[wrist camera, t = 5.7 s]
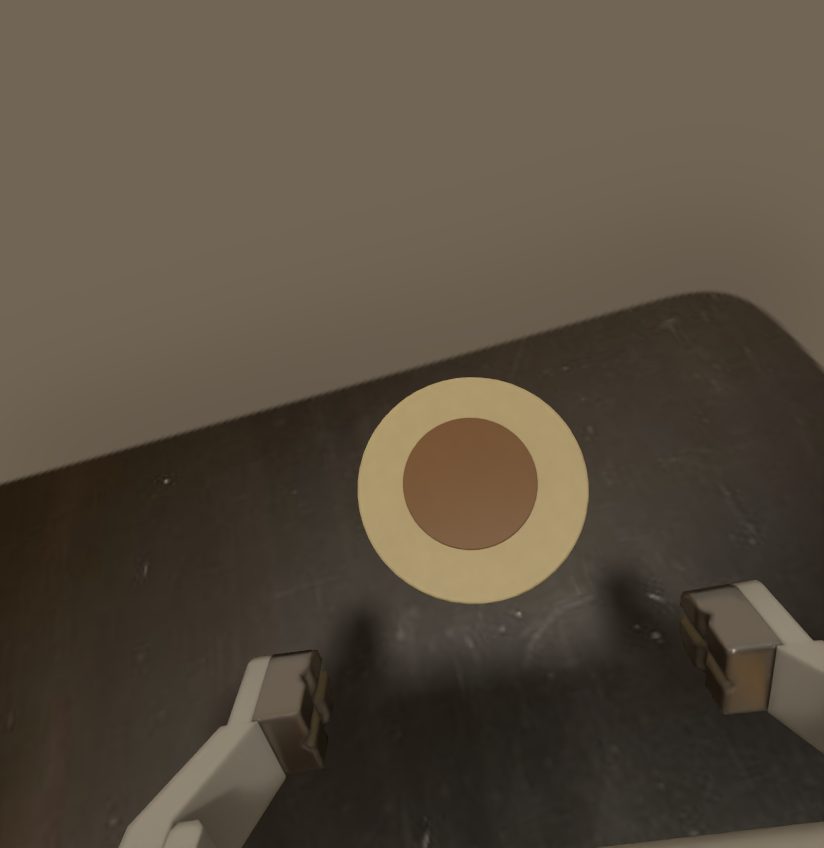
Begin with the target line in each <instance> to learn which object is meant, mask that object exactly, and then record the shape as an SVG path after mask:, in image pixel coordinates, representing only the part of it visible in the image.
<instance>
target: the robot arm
mask: <svg viewBox="0 0 824 848" xmlns="http://www.w3.org/2000/svg"><path fill="white" fill-rule="evenodd" d="M680 605H681V607H682V608H683V610H684V612H685V613H686V614H685V615H684V616H683V617H682V618H681V620H680V633H681V637H682V641H683V645H684V647H685V649H686V652H687V654H688V656H689V658H690V660H691V661H692V663H693V665H694V666H695V667H697V668H698V669H700V670H701V671H703V672H705V673H706V679H705V685H706V687H707V689H708V690H709V692H710V694H711V695H712V697H713V699H714V700H715V702H716V704H717V705H718V707H719V709H720V710H721V712H722V714H723V715H726V714H735V713H745V712H754V711H764V710H768V713H769V714H771V715H772V716H773V717H775V718H776V719H777V720H779V721H780V722H781V723H783V724H784V725H785V726H787V727H788V728H789V729H791V730H792V731H793V732H795V733H796V734H797V735H799V736H800V737H801V738H803V739H804V740H805V741H807V742H808V743H809V744H811V745H812V746H813V747H815V748H816V749H817V750H819V751H820V752H822V753H823V754H824V641H822V640H817V641H813V640H812V639H811V638H810V636H809V635H808V634H807V633H806V632H805V631H804V630H803V629H802V627H801V626H800V625H799V624H798V623H797V622H796V621H795V620H794V618H793V617H792V616H791V615H790V614H789V613H788V612H787V611H786V610H785V608H784V607H783V606H782V605H781V604H780V603H779V602H778V601H777V599H776V598H775V597H774V596H773V595H772V594H771V593H770V592H769V590H768V589H767V588H766V587H765V586H764V585H763V584H762V583H761V582H759V581H757V580H752V581H746V582H739V583H733V584H726V585H720V586H714V587H708V588H702V589H696V590H690V591H684V592H683V593H682V595H681V600H680ZM321 664H322V658H321V656H320V654H319V652H318V650H306V651H298V652H290V653H282V654H274V655H269V656H262V657H254V658H252V659H251V661H250V662H249V663H248V665H247V668H246V671H245V673H244V676H243V679H242V682H241V685H240V688H239V691H238V694H237V697H236V700H235V703H234V706H233V709H232V712H231V715H230V718H229V720H228V723H227V725H226V726H220V728H219V729H218V730H217V731H216V732H215V733H214V734H213V735H212V736H211V737H210V738H209V739H208V741H207V742H206V743H205V744H204V745H203V746H202V747H201V748H200V749H199V750H198V751H197V752H196V753H195V755H194V756H193V757H192V758H191V759H190V760H189V761H188V762H187V763H186V764H185V765H184V766H183V768H182V769H181V770H180V771H179V772H178V773H177V774H176V775H175V776H174V777H173V778H172V779H171V780H170V782H169V783H168V784H167V785H166V786H165V787H164V788H163V789H162V790H161V791H160V792H159V793H158V795H157V796H156V797H155V798H154V799H153V800H152V801H151V802H150V803H149V804H148V805H147V806H146V807H145V809H144V810H143V811H142V812H141V813H140V814H139V815H138V816H137V817H136V818H135V819H134V820H133V822H132V823H131V824H130V825H129V826H128V827H127V830H126V832H125V834H124V836H123V839H122V841H121V843H120V845H119V848H242V846H243V845H244V843H245V841H246V840H247V838H248V837H249V835H250V834H251V832H252V830H253V829H254V827H255V826H256V824H257V823H258V821H259V819H260V818H261V816H262V815H263V813H264V811H265V810H266V808H267V807H268V805H269V804H270V802H271V800H272V799H273V797H274V796H275V794H276V793H277V791H278V789H279V788H280V786H281V785H282V783H283V782H284V780H285V778H286V775H287V774H293V773H299V772H305V771H311V770H317V769H323V768H324V763H325V757H326V750H327V744H328V735H327V733H326V731H325V728H324V727H325V725H326V724H327V723H328V721H329V720H330V719H331V716H332V709H333V690H332V685H331V681H330V678H329V675H328V673H327V672H325V671H323V670H322V669H321ZM595 848H824V821H821V822H813V823H804V824H795V825H787V826H778V827H769V828H761V829H752V830H743V831H735V832H726V833H717V834H709V835H700V836H691V837H682V838H674V839H665V840H656V841H648V842H639V843H630V844H621V845H613V846H604V847H595Z"/></svg>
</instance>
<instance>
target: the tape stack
mask: <svg viewBox="0 0 824 848" xmlns="http://www.w3.org/2000/svg"><path fill="white" fill-rule="evenodd" d="M588 500H589V483H588V476H587V469H586V465H585V462H584V458H583V454H582V452H581V450H580V447H579V445H578V443H577V440H576V439H575V437H574V435H573V434H572V432H571V430H570V429H569V427H568V426H567V425H566V423H565V422H564V421H563V420H562V418H561V417H560V416H559V415H558V414H557V413H556V412H555V411H554V410H553V409H552V408H551V407H550V406H549V405H548V404H546V403H545V402H544V401H542V400H541V399H540V398H538V397H537V396H535V395H533V394H532V393H530V392H528V391H526V390H525V389H522V388H520V387H517V386H515V385H513V384H510V383H506V382H503V381H499V380H494V379H488V378H475V377H467V378H456V379H451V380H446V381H441V382H438V383H435V384H432V385H429V386H427V387H425V388H423V389H421V390H418V391H416V392H415V393H413V394H412V395H410V396H408V397H407V398H405V399H404V400H403V401H401V402H400V403H399V404H398V405H396V406H395V407H394V408H393V409H392V410H391V411H390V412H389V413H388V414H387V415H386V416H385V417H384V419H383V420H382V421H381V423H380V424H379V425H378V427H377V428H376V429H375V431H374V433H373V435H372V436H371V438H370V440H369V442H368V444H367V447H366V449H365V451H364V454H363V458H362V461H361V465H360V470H359V477H358V503H359V511H360V515H361V519H362V523H363V526H364V528H365V531H366V533H367V536H368V538H369V540H370V542H371V544H372V545H373V547H374V549H375V551H376V552H377V554H378V555H379V556H380V558H381V559H382V560H383V562H384V563H385V564H386V565H387V566H388V567H389V568H390V569H391V570H392V571H393V572H394V573H395V574H396V575H397V576H398V577H400V578H401V579H402V580H404V581H405V582H406V583H407V584H409V585H411V586H412V587H414V588H416V589H417V590H419V591H421V592H423V593H425V594H428V595H430V596H433V597H435V598H438V599H442V600H446V601H450V602H455V603H464V604H486V603H492V602H498V601H503V600H506V599H509V598H512V597H516V596H518V595H520V594H522V593H524V592H527V591H529V590H531V589H532V588H534V587H535V586H537V585H538V584H540V583H542V582H543V581H545V580H546V579H547V578H548V577H549V576H550V575H551V574H553V573H554V572H555V571H556V570H557V569H558V568H559V567H560V565H561V564H562V563H563V562H564V561H565V560H566V558H567V557H568V555H569V554H570V552H571V551H572V549H573V548H574V546H575V544H576V542H577V540H578V538H579V536H580V533H581V531H582V528H583V525H584V521H585V518H586V514H587V507H588Z"/></svg>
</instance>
